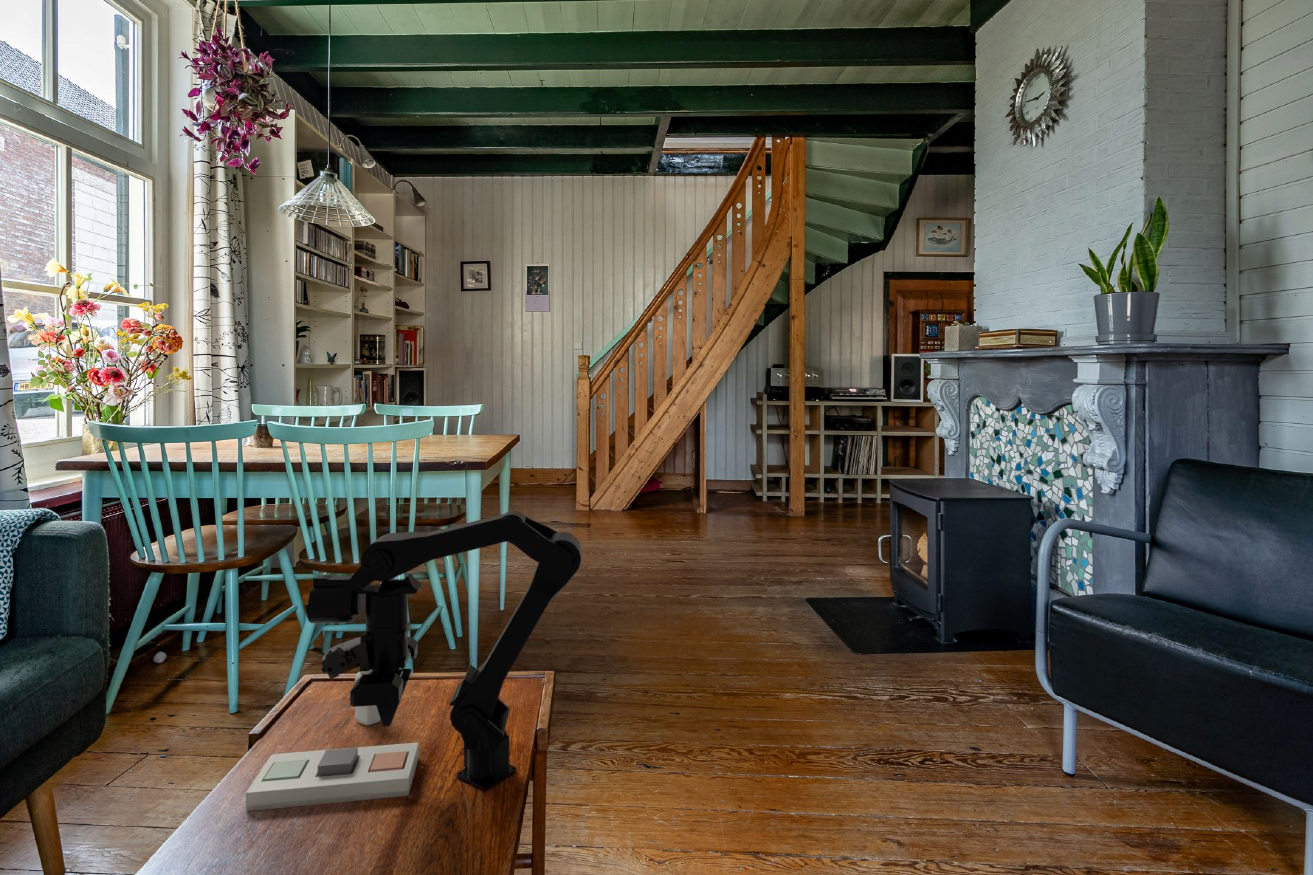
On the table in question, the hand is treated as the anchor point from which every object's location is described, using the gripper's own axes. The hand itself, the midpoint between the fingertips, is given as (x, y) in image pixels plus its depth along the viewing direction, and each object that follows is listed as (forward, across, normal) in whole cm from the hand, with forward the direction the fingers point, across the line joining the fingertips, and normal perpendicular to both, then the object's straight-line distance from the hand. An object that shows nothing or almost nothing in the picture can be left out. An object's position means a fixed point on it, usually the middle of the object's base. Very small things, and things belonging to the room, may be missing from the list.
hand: (387, 725), depth 100 cm
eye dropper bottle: (+8, -20, -7) cm, 23 cm away
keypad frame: (+8, 0, -7) cm, 11 cm away
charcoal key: (+6, 0, -7) cm, 9 cm away
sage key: (+7, 0, -14) cm, 16 cm away
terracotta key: (+7, 0, 0) cm, 7 cm away
